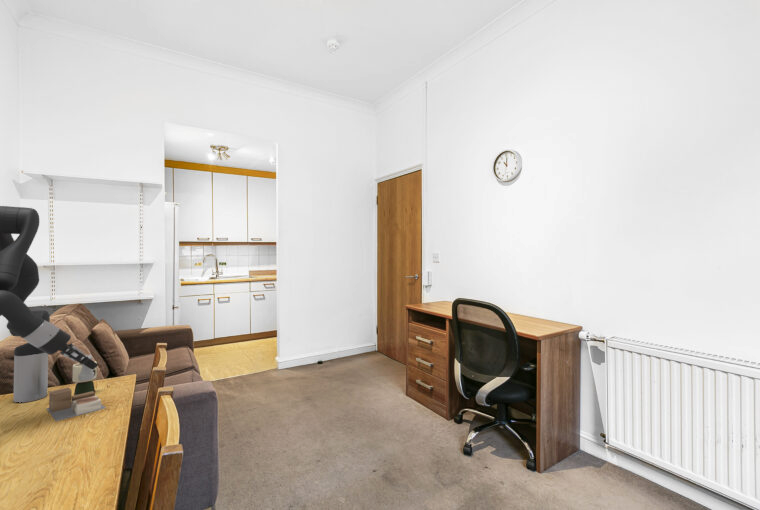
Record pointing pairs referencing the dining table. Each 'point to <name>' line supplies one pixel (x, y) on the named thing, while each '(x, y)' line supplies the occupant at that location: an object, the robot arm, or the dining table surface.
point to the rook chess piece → (86, 372)
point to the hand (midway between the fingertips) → (93, 366)
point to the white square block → (86, 405)
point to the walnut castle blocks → (64, 398)
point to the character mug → (82, 385)
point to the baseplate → (67, 413)
